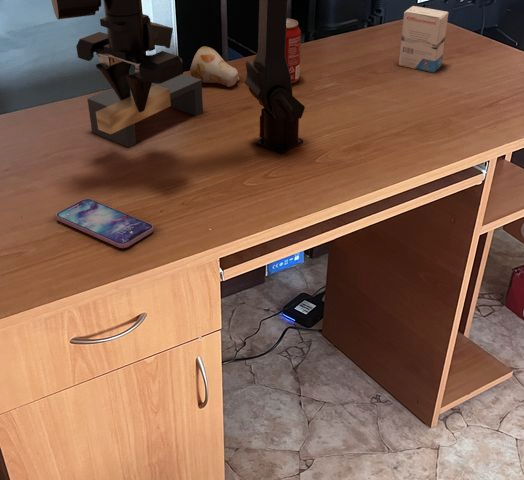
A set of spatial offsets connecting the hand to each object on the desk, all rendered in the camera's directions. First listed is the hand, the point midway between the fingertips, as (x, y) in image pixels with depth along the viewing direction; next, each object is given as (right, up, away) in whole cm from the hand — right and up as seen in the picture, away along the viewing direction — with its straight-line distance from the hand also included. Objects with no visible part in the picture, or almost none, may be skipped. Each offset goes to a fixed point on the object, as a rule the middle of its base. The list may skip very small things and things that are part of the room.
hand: (134, 108), depth 130 cm
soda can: (+26, +17, +37) cm, 49 cm away
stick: (0, -1, +1) cm, 2 cm away
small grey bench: (-1, +4, +21) cm, 22 cm away
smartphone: (-3, -21, -8) cm, 22 cm away
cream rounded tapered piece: (+11, +17, +36) cm, 42 cm away
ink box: (+56, +23, +44) cm, 75 cm away
